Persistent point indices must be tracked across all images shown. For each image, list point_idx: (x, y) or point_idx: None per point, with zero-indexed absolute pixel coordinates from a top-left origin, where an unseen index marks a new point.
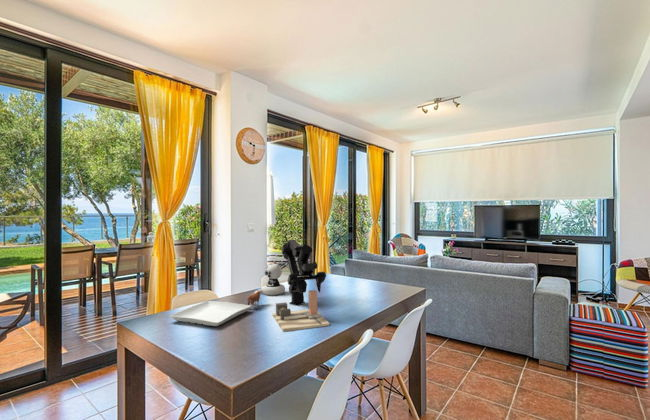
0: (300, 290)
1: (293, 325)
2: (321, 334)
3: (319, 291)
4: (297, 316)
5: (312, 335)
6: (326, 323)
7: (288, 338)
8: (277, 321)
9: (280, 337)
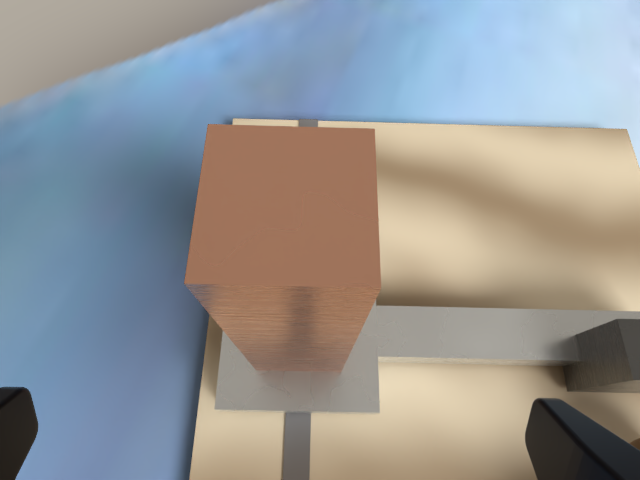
0: (613, 438)
1: (537, 171)
2: (358, 21)
3: (26, 392)
4: (491, 311)
5: (418, 26)
6: (259, 120)
7: (576, 35)
8: None
9: (628, 62)
